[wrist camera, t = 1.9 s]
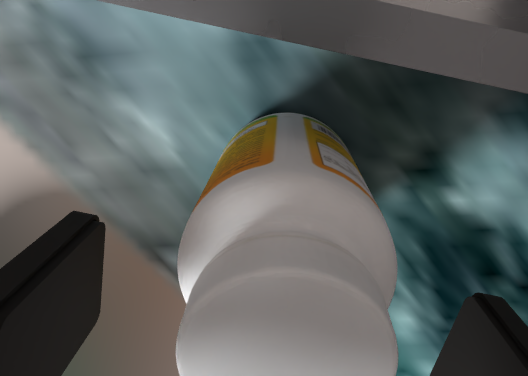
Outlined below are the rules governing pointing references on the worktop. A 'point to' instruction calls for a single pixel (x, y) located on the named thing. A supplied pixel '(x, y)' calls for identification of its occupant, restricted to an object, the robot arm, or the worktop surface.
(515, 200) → the worktop surface
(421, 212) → the worktop surface
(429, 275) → the worktop surface
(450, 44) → the grey compartment tray
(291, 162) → the supplement bottle
